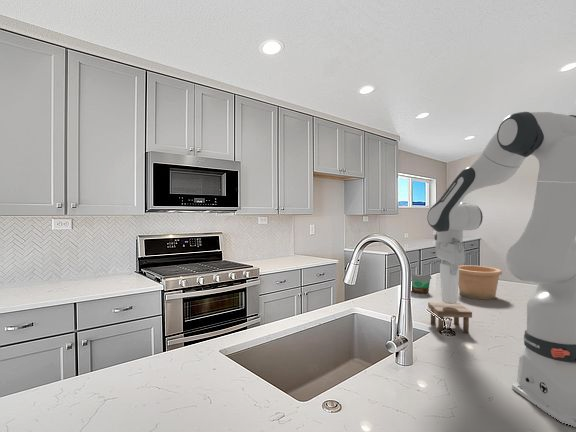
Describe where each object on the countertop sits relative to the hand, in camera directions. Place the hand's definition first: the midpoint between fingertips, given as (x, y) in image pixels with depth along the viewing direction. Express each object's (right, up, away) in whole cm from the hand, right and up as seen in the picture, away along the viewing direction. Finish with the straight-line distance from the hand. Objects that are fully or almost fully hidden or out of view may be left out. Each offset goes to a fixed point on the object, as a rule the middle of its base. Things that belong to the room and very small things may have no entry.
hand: (449, 273), depth 130 cm
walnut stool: (0, -21, 0) cm, 21 cm away
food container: (+10, -20, +54) cm, 58 cm away
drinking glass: (0, -12, 0) cm, 12 cm away
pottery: (+38, -21, +49) cm, 65 cm away
